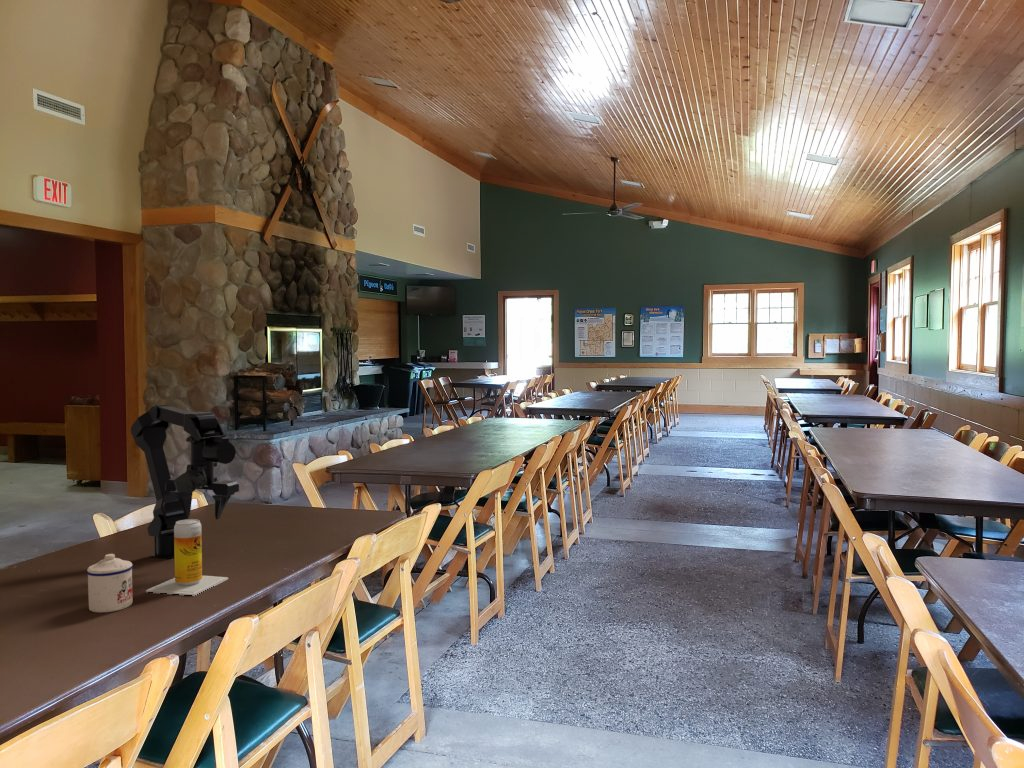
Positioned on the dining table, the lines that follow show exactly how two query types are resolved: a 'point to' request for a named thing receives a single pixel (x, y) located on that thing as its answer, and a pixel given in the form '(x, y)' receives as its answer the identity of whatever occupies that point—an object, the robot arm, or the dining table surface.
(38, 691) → the dining table surface
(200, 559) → the beer can
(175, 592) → the coaster
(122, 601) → the teacup with lid
